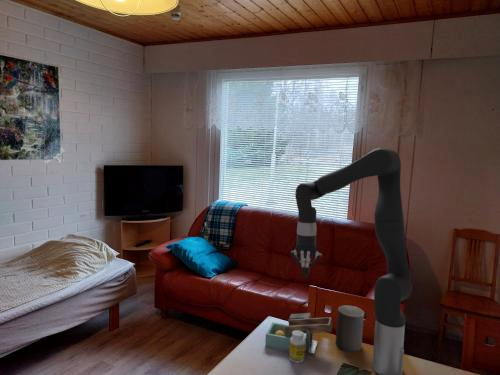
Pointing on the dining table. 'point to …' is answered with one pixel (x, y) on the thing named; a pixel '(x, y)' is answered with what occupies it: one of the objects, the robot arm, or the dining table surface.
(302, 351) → the supplement bottle
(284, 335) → the ball
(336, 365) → the dining table surface
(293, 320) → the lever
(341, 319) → the pillar candle
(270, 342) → the green open box
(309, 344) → the stand
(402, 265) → the robot arm
